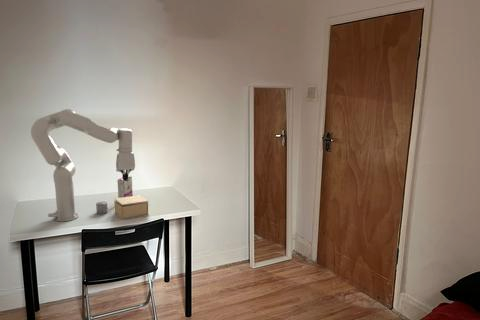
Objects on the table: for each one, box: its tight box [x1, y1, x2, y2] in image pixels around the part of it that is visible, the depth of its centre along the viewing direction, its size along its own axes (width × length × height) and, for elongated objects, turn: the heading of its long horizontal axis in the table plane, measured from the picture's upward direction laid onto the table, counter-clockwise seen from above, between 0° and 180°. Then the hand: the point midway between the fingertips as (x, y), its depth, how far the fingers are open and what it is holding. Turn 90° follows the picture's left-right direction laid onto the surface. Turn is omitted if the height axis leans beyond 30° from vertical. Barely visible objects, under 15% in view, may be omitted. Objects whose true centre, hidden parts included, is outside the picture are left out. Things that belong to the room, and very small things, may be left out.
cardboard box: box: [114, 200, 149, 221], centre depth 226 cm, size 16×13×8 cm
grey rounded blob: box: [95, 201, 109, 215], centre depth 227 cm, size 6×6×6 cm
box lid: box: [114, 194, 149, 206], centre depth 225 cm, size 16×13×1 cm
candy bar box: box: [116, 175, 134, 198], centre depth 249 cm, size 11×5×16 cm, turn 168°
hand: (125, 180), depth 221 cm, fingers closed
